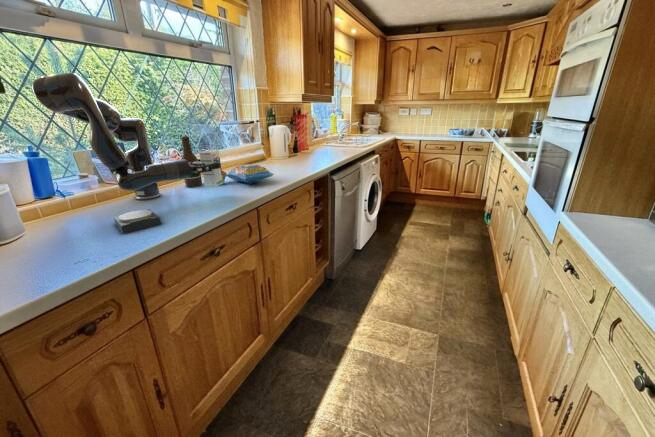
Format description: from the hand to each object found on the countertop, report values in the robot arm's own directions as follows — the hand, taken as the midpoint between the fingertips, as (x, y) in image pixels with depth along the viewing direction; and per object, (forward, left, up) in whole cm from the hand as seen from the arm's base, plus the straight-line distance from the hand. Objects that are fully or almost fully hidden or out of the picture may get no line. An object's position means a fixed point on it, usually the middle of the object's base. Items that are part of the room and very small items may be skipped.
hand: (215, 164), depth 128 cm
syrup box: (0, -2, -9) cm, 9 cm away
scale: (+13, -35, -14) cm, 40 cm away
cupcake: (-21, +9, -14) cm, 27 cm away
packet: (-12, +22, -14) cm, 29 cm away
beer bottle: (-28, -1, -14) cm, 31 cm away
